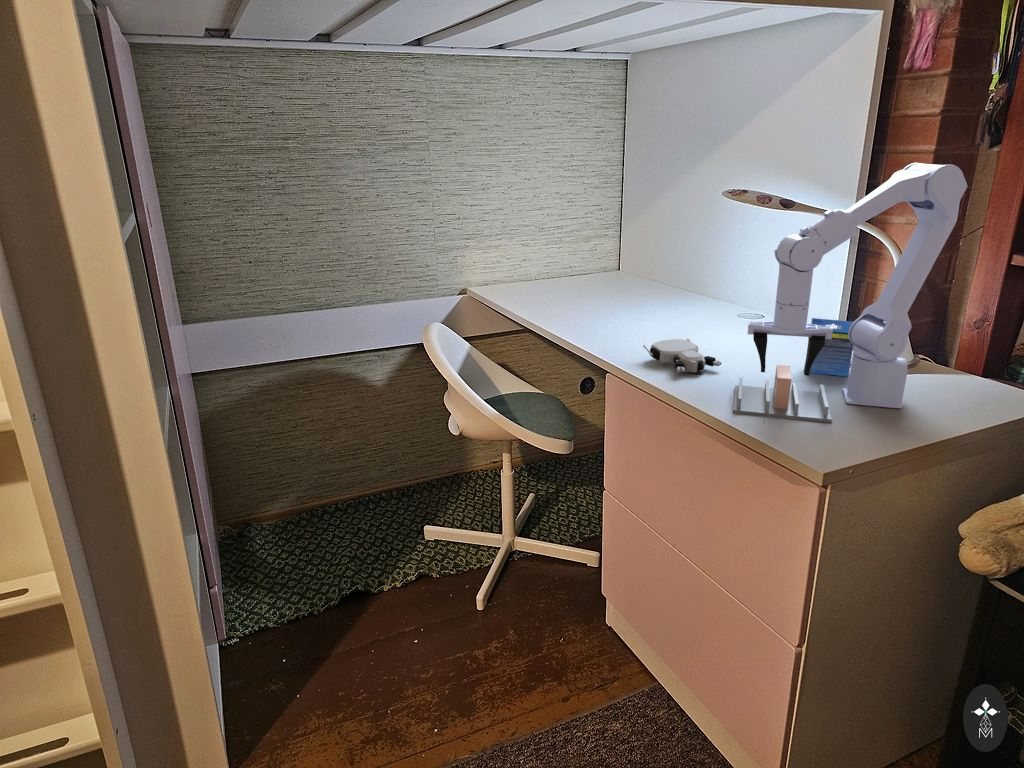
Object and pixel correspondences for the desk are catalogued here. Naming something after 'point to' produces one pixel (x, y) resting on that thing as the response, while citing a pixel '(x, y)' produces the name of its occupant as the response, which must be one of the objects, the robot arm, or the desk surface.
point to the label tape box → (834, 350)
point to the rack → (799, 407)
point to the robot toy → (681, 355)
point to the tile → (782, 386)
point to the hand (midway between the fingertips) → (784, 372)
